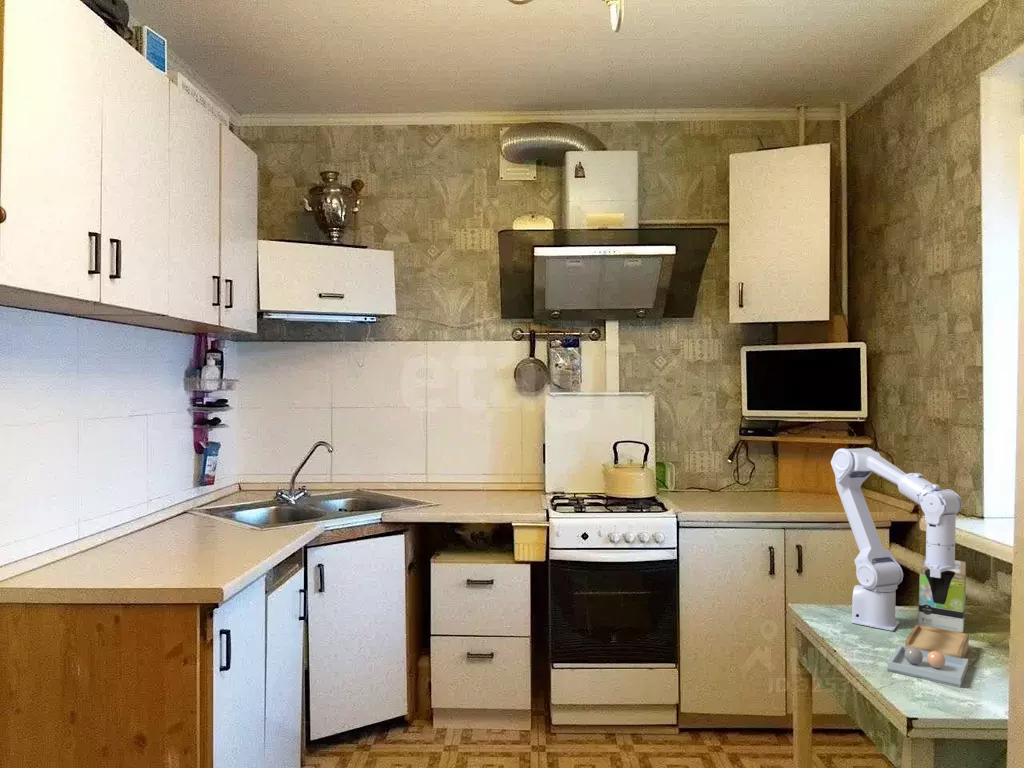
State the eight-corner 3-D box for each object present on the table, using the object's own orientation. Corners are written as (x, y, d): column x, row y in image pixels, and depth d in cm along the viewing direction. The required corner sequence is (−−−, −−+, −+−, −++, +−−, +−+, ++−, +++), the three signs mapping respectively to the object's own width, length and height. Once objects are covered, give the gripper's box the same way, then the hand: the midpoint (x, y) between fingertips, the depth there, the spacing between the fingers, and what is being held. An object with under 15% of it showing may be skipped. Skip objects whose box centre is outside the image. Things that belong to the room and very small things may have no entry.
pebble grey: (908, 657, 157) (903, 665, 155) (906, 642, 157) (901, 650, 155) (926, 661, 155) (920, 669, 153) (923, 646, 154) (918, 654, 152)
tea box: (965, 634, 176) (966, 572, 175) (917, 626, 181) (918, 566, 181) (965, 617, 188) (966, 559, 188) (920, 610, 194) (921, 554, 194)
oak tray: (905, 655, 161) (905, 640, 161) (916, 637, 172) (916, 624, 172) (960, 666, 155) (961, 651, 155) (968, 648, 166) (968, 634, 166)
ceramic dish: (887, 670, 152) (887, 662, 152) (899, 652, 162) (899, 644, 162) (960, 687, 144) (960, 678, 144) (968, 667, 154) (968, 659, 154)
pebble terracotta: (924, 647, 154) (924, 661, 155) (929, 656, 151) (929, 671, 152) (942, 647, 154) (942, 662, 154) (947, 657, 150) (947, 672, 151)
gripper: (956, 551, 158) (955, 614, 159) (964, 540, 170) (963, 599, 170) (919, 546, 163) (918, 607, 163) (930, 536, 174) (929, 593, 174)
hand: (939, 603), depth 167 cm, fingers closed
